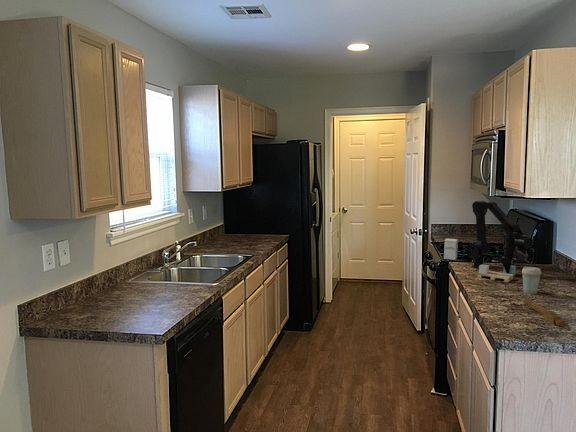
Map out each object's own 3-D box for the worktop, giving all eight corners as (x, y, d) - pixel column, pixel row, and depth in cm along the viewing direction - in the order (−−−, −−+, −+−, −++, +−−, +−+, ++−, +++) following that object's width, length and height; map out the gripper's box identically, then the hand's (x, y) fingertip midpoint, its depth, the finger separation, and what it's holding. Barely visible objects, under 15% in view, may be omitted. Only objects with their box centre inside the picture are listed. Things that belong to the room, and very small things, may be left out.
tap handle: (530, 297, 215) (566, 320, 185) (529, 304, 215) (565, 328, 186) (523, 297, 215) (558, 320, 185) (523, 304, 215) (557, 327, 186)
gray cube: (481, 271, 264) (481, 264, 263) (488, 272, 261) (489, 265, 261) (478, 272, 261) (479, 265, 260) (486, 274, 258) (486, 266, 258)
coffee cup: (528, 295, 227) (529, 271, 226) (516, 290, 236) (518, 267, 234) (544, 294, 228) (545, 270, 227) (532, 289, 237) (533, 266, 235)
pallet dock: (482, 274, 268) (483, 269, 268) (513, 278, 258) (513, 274, 257) (477, 277, 261) (477, 272, 261) (508, 282, 251) (508, 277, 251)
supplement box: (443, 259, 307) (444, 239, 305) (445, 256, 313) (446, 238, 312) (455, 260, 303) (456, 240, 302) (457, 258, 310) (458, 238, 308)
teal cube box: (505, 273, 269) (506, 264, 268) (515, 274, 266) (515, 266, 265) (503, 275, 265) (503, 266, 265) (512, 276, 262) (513, 267, 261)
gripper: (521, 250, 251) (520, 278, 253) (531, 244, 265) (529, 272, 267) (499, 247, 258) (498, 275, 260) (510, 242, 272) (508, 269, 274)
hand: (509, 273), depth 265 cm, fingers closed on teal cube box, 5 cm apart
